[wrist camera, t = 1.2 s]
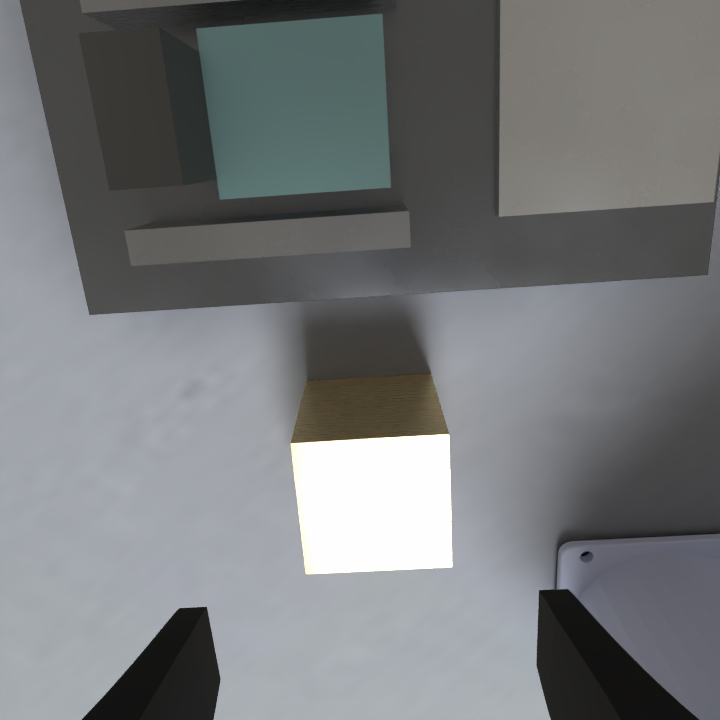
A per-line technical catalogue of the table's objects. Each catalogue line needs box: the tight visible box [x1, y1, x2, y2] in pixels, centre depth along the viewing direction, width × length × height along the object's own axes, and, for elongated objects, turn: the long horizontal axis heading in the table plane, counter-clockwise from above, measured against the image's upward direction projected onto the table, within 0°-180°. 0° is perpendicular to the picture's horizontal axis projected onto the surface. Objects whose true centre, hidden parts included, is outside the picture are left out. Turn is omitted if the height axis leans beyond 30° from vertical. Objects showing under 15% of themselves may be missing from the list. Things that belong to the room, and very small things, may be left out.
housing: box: [291, 374, 452, 574], centre depth 20 cm, size 4×4×5 cm
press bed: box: [20, 0, 720, 315], centre depth 17 cm, size 20×11×3 cm, turn 94°
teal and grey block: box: [79, 14, 391, 200], centre depth 15 cm, size 6×4×5 cm, turn 94°
